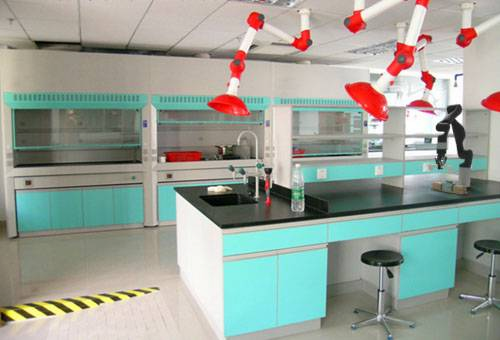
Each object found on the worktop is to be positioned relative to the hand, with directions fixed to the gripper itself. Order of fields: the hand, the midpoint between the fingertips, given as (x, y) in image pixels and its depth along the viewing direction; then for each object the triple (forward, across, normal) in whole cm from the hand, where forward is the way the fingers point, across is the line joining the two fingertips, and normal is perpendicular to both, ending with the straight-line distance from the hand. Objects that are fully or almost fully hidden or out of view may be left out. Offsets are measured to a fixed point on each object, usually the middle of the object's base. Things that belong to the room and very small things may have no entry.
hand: (440, 169), depth 344 cm
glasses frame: (+2, 0, 0) cm, 2 cm away
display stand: (+19, -10, +2) cm, 22 cm away
